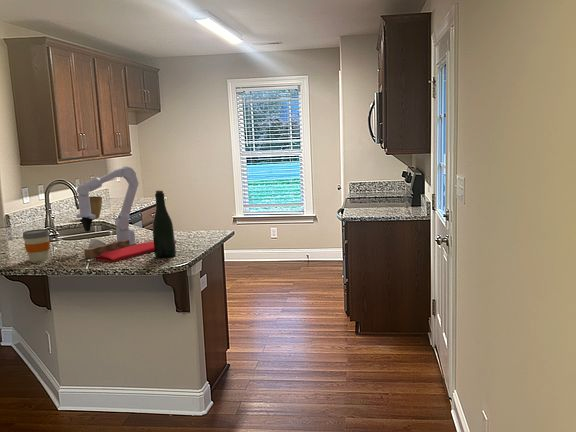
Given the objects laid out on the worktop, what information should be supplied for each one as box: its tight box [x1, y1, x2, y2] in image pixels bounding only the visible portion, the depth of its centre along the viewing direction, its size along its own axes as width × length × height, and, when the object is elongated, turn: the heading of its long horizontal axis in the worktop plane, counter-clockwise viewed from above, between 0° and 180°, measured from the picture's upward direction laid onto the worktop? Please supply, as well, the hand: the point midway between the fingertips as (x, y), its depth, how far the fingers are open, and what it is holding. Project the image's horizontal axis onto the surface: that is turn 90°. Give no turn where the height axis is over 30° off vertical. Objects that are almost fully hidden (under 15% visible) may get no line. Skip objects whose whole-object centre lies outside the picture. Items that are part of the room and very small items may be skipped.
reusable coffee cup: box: [22, 228, 51, 263], centre depth 287 cm, size 13×12×15 cm
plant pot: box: [89, 195, 103, 219], centre depth 424 cm, size 15×15×16 cm
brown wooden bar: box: [84, 240, 131, 260], centre depth 294 cm, size 26×3×4 cm, turn 144°
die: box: [87, 237, 107, 249], centre depth 297 cm, size 8×9×10 cm
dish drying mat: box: [94, 239, 177, 263], centre depth 292 cm, size 16×41×4 cm, turn 142°
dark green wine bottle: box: [152, 189, 177, 259], centre depth 276 cm, size 10×10×33 cm
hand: (87, 231), depth 304 cm, fingers closed
